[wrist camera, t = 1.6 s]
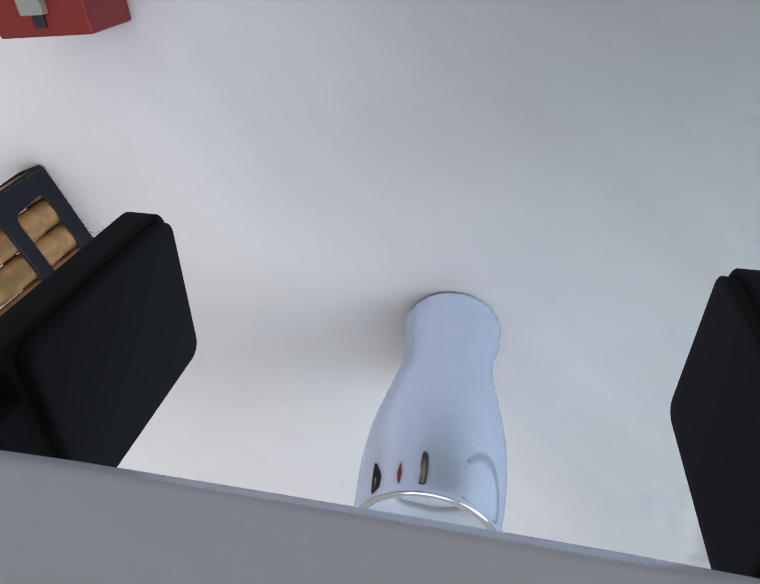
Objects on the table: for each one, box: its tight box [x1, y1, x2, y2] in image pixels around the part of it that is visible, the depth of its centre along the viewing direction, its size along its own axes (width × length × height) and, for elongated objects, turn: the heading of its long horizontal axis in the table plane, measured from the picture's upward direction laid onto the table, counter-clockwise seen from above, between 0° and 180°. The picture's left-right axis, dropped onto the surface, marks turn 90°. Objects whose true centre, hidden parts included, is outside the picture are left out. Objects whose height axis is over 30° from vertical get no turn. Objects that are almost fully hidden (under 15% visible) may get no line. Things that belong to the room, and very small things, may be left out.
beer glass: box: [354, 293, 507, 532], centre depth 32 cm, size 7×7×15 cm
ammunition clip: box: [0, 165, 93, 316], centre depth 35 cm, size 11×2×12 cm, turn 22°
